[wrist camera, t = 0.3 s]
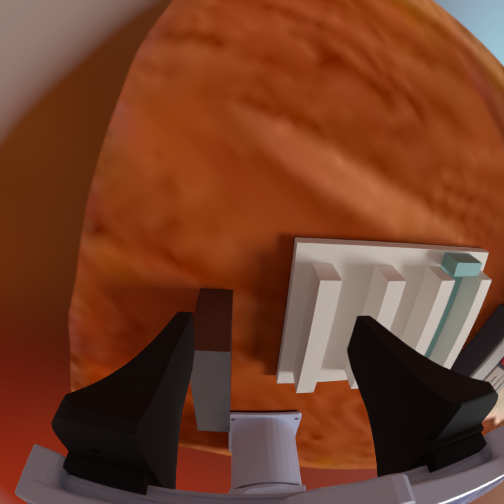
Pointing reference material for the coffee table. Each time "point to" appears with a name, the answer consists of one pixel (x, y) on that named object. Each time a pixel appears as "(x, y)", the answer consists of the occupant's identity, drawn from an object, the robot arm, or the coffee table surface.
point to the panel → (212, 360)
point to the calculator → (485, 353)
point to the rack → (376, 302)
